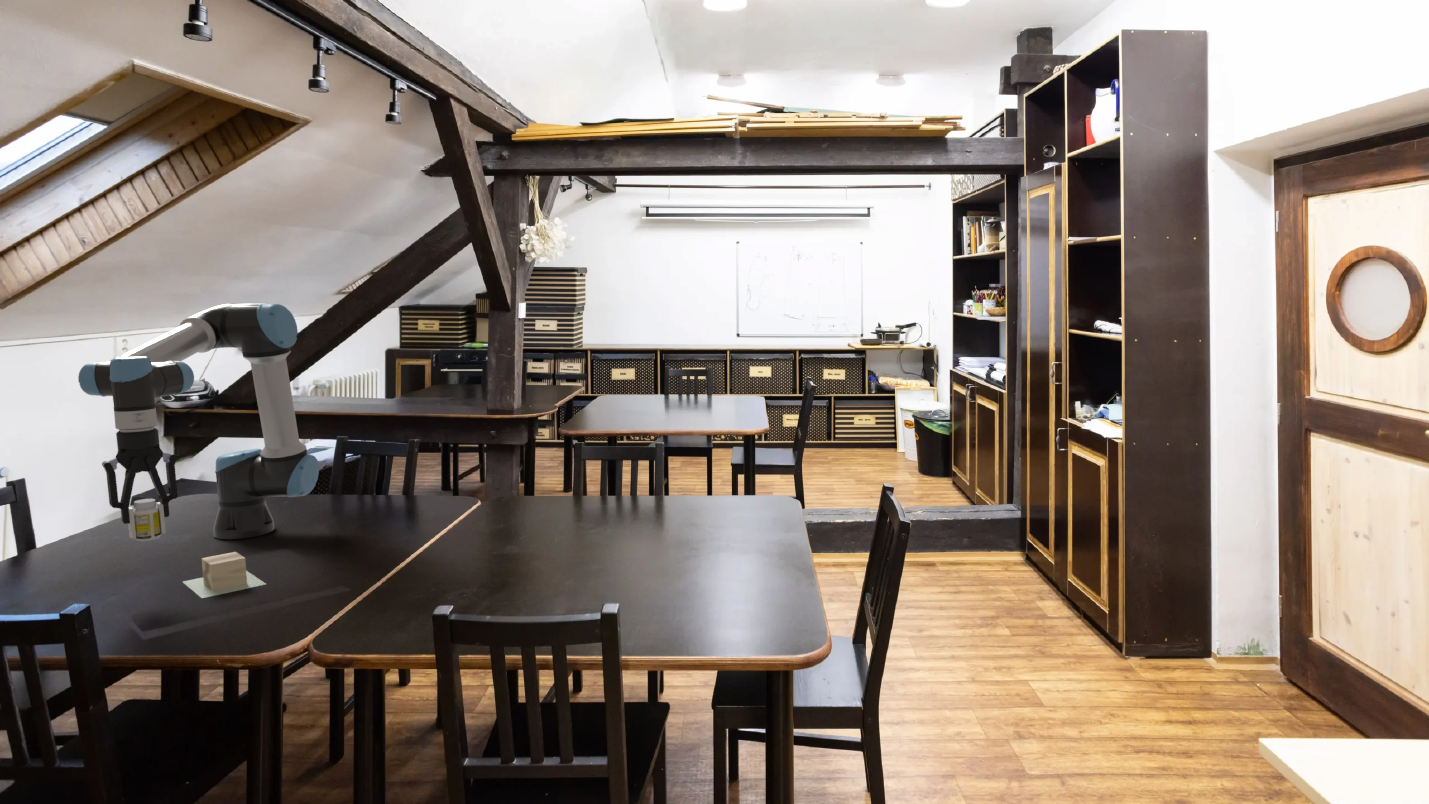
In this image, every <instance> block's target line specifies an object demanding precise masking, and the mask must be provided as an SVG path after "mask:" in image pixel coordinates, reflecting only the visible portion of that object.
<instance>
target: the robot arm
mask: <svg viewBox="0 0 1429 804" xmlns="http://www.w3.org/2000/svg"><path fill="white" fill-rule="evenodd" d="M292 313H293V312H291V311H290V310H289V309H288V308H287V307H286V306H285V305H282V304H279V303H269V302H258V303H257V302H256V303H225V304H220V305H216V306H213V307H210V308H207V309H205V310H203V311H199V312H197V313H195V314H193V315H191V316H188V317H187V318H185V319H184V320H182V321H181V322H180V324H179V326H178V327H175V328H174V329H172V330H169V331H167V332H166V333H163V334H162V335H159V336H158V337H155V338H153V339H151V340H149V341H148V342H145V343H143V344H142V345H139V346H137V347H135V348H132V349H130V350H129V351H127V352H124V353H122V354H121V355H118V356H117V357H114V358H112V359H110V360H108V361H104V362H101V361H96V362H88V363H86V364H84V365H83V366H82V367H81V368H80V370H79V373H78V377H77V378H78V383H79V386H80V389H81V390H82V391H83V392H84V393H85V394H87V395H89V396H99V397H102V398H103V397H112V402H113V415H114V427H115V429H117V432H116V433H115V435H116V446H117V452H116V455H115V458H113V459H110V460H108V461H106V460H105V461H102V462H101V466H102V467H103V469H104V472H105V473H106V483H107V494H108V500H109V506H110V507H112V508H114V509H120V516H121V517H120V518H121V522H122V523H123V524H124V525H127V528H128V536H129V538H130V539H132V540H135V538H136V530H135V520H134V510H135V509H134V507H132V506H130V502H131V497H132V493H133V487H134V483H135V479H136V475H137V474H139V473H142V472H147V473H148V475H149V477H150V479H151V482H152V484H153V488H154V489H155V491H156V492H155V493H156V494H157V496H158V499H159V501H158V502H157V501H156V506H155V507H156V508H158V510H159V520H160V532H161V535H163V534H166V533H167V532H166V522H165V521H166V520H165V518H168V517H169V516H170V505H169V503H170V501H172V500H174V499H175V500H176V499H177V498H179V497H178V486H177V475H176V462H177V460H178V459H177V458H178V455H177V454H175V453H173V452H170V453H169V452H164V451H163V450H162V449H161V445H160V437H159V436H160V435H159V429H158V428H156V427H157V426H158V424H159V423H158V416H157V408H156V398H161V397H169V396H177V395H181V394H182V393H186V392H187V391H189V390H190V389H192V387H193V385H194V382H195V375H194V371H193V370H192V368H191V366H189V365H188V364H187V363H186V362H183V361H184V360H186V359H188V358H190V357H191V356H193V355H195V354H197V353H200V354H201V353H202V354H203V353H207V352H210V351H211V350H214V349H223V348H225V349H226V348H241V354H242V357H243V358H244V359H245V360H247V361H248V362H249V363H250V367H251V373H252V379H253V385H254V390H255V397H256V403H257V407H258V414H259V419H260V425H261V431H262V437H263V441H264V447H263V449H261V448H252V449H244V450H239V451H233V452H230V453H229V452H228V453H226V454H222V455H220V456H218V457H217V458H216V460H215V471H214V473H215V477H216V478H215V480H216V489H217V491H216V492H217V501H218V510H217V513H216V517H215V521H214V525H213V528H212V531H213V538H216V539H219V540H241V539H248V538H256V537H259V536H265V535H266V534H269V533H272V532H273V531H274V530H275V521H274V518H273V516H272V514H271V512H270V510H269V508H268V505H267V502H266V497H269V498H270V497H271V498H272V497H277V498H282V497H283V498H285V497H286V498H296V497H305V496H308V494H311V492H312V491H313V490H314V488H315V486H316V484H317V481H318V478H319V474H320V466H319V461H318V458H316V456H315V455H313V454H308V449H307V445H306V444H304V443H303V442H302V441H300V438H299V437H300V436H299V432H298V426H297V425H298V424H297V417H296V412H295V407H294V406H295V405H294V399H293V393H292V388H291V381H290V375H289V367H288V363H287V357H288V356H289V355H290V354H291V352H292V350H291V348H292V347H293V346H294V345H295V344H296V342H297V340H298V337H297V336H298V325H297V322H296V319H295V317H294V315H293V314H292ZM161 459H163V463H165V470H166V482H167V491H166V490H165V488H164V485H163V483H162V480H161V477H160V476H159V473H158V470H157V469H158V468H157V467H156V466H157V465H158V463H159V462H160V461H161ZM118 464H120V465H121V467H123V468H124V469H125V472H124V480H123V481H124V482H123V484H122V485H123V486H122V492H121V497H120V501H119V496H118V485H117V474H116V471H115V470H117V469H118V466H117V465H118ZM167 492H168V493H167Z"/></svg>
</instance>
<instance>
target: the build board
mask: <svg viewBox="0 0 1429 804" xmlns="http://www.w3.org/2000/svg"><path fill="white" fill-rule="evenodd" d="M246 575H247V584H243V585H239V586H234V587H230V588H225V589H220V590H216V591H212V590H211V589H209V588H208V587H207V586H206V585H204V582H203V576H202V577H197V578H193V579H189V580H183V581H182V584H183V585H185V586H186V587H187V588H188V589H190V590H191V591H192V592H194V594H195V595H197V596H198V597H199V598H201V599H206V598H211V597H216V596H219V595H223V594H224V595H225V594H228V593H233V592H237V591H243V590H245V589H251V588H256V587H261V586H265V585H267V583H265V582H264V581H263V580H261V579H260V578H258V577H256V575H254V574H253V573H250V572H249V571H248V570H246Z"/></svg>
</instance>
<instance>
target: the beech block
mask: <svg viewBox="0 0 1429 804" xmlns="http://www.w3.org/2000/svg"><path fill="white" fill-rule="evenodd" d="M201 567H202V577H203V582H204V585H206V586H207V587H208V588H209V589H211V590H212V591H216V590H220V589H225V588H230V587H234V586H239V585H243V584H247V575H246V571H247V564H246V557H244V556H243V555H242V554H240V553H238V552H237V551H233V552H228V553H227V552H225V553H222V554H216V555H211V556H206V557H201Z"/></svg>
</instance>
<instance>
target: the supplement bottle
mask: <svg viewBox="0 0 1429 804" xmlns="http://www.w3.org/2000/svg"><path fill="white" fill-rule="evenodd" d="M156 503H157V501H156V499H155V498H143V499H138V500H135V501H133V510H134V520H135V530H136V538H135V539H134V540H135V541H138V542H147V541H148V542H149V541H154V540H157V539H159V538H161V536H162V533H161V532H160V520H159V510H158V508H156Z"/></svg>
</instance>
